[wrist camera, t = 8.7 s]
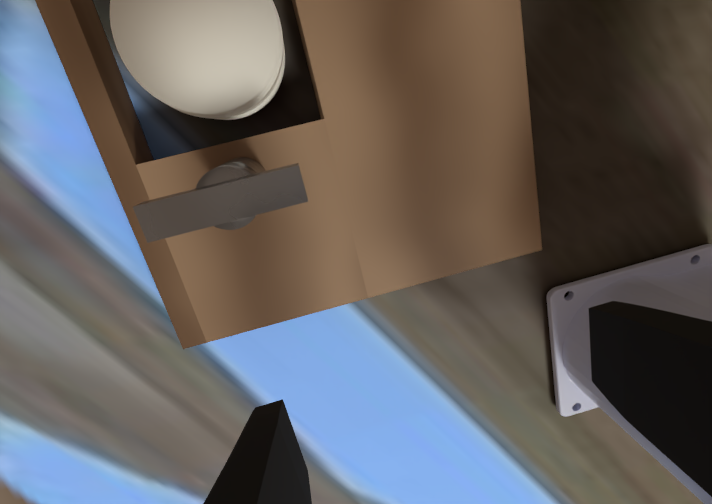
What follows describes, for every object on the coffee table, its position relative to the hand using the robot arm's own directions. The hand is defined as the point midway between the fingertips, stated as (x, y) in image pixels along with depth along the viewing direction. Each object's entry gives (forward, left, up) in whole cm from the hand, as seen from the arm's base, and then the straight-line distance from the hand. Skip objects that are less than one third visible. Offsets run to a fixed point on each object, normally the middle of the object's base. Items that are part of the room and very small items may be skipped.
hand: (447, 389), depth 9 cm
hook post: (+4, -5, -8) cm, 10 cm away
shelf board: (+1, -6, -10) cm, 12 cm away
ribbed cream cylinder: (+4, -9, -11) cm, 14 cm away
